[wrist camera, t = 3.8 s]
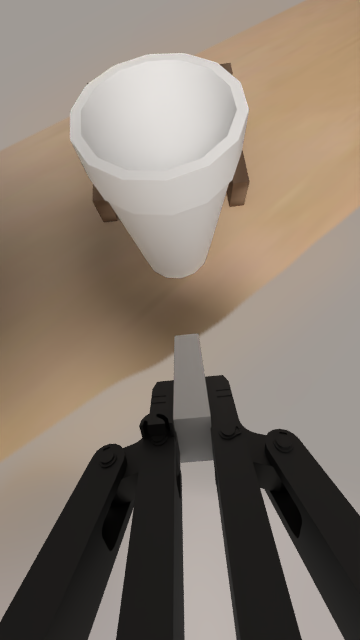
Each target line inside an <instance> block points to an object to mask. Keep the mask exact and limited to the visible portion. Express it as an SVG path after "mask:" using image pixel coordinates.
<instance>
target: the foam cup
mask: <svg viewBox="0 0 360 640" xmlns="http://www.w3.org/2000/svg"><path fill="white" fill-rule="evenodd" d="M248 113H249V108H248V105H247V101H246V98H245V95H244V92H243V89H242V85H241V82H240V81H238V80H237V79H236V78H235V77H234V76H232V75H231V74H230V73H229V72H228V71H226V70H225V69H224V68H223V67H222V66H221V65H219V64H218V63H216V62H213V61H210V60H206V59H203V58H199V57H196V56H193V55H189V54H185V53H174V54H148V55H145V56H141V57H138V58H135V59H132V60H129V61H126V62H123V63H120V64H117V65H114V66H112V67H111V68H110V69H108V70H107V71H105V72H104V73H103V74H101V75H100V76H98V77H97V78H96V79H94V80H93V81H91V82H90V83H89V84H87V85H86V86H85V88H84V90H83V91H82V93H81V94H80V96H79V98H78V99H77V101H76V103H75V104H74V106H73V107H72V109H71V111H70V140H71V143H72V145H73V147H74V149H75V151H76V153H77V155H78V157H79V159H80V161H81V163H82V165H83V167H84V169H85V171H86V173H87V175H88V177H89V179H90V180H91V181H92V183H93V184H94V186H95V187H96V189H97V190H98V191H99V193H100V194H101V196H102V197H103V198H104V200H105V201H108V202H109V204H110V205H111V207H112V208H113V210H114V211H115V213H116V214H117V216H118V217H119V219H120V220H121V222H122V224H123V225H124V227H125V228H126V230H127V231H128V233H129V234H130V236H131V237H132V239H133V240H134V242H135V243H136V245H137V247H138V248H139V250H140V251H141V253H142V254H143V256H144V257H145V259H146V260H147V262H148V263H149V264H150V266H151V267H152V269H153V270H154V271H155V272H157V273H159V274H161V275H162V276H164V277H166V278H183V277H186V276H189V275H191V274H194V273H195V272H196V271H197V270H198V269H199V268H200V267H201V266H202V265H203V264H204V263H205V260H206V257H207V254H208V251H209V248H210V245H211V242H212V238H213V235H214V232H215V228H216V225H217V222H218V218H219V215H220V212H221V208H222V205H223V202H224V198H225V195H226V192H227V188H228V185H229V183H230V182H231V181H232V180H233V177H234V174H235V171H236V168H237V165H238V162H239V159H240V156H241V153H242V147H243V142H244V136H245V130H246V124H247V119H248Z"/></svg>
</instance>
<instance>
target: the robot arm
mask: <svg viewBox="0 0 360 640" xmlns="http://www.w3.org/2000/svg"><path fill="white" fill-rule="evenodd" d="M139 427H140V430H141V434H142V439H141V440H139V441H138V442H137V443H135V444H133V445H130V446H127V447H125V448H122V447H121V446H120V445H117V444H108V445H105V446H103V447H102V448H100V449H99V450H98V451H97V452H96V453H95V454H94V456H93V457H92V459H91V461H90V462H89V464H88V466H87V468H86V470H85V471H84V473H83V475H82V477H81V478H80V480H79V482H78V484H77V486H76V488H75V489H74V491H73V493H72V495H71V496H70V498H69V500H68V502H67V504H66V505H65V507H64V509H63V511H62V513H61V514H60V516H59V518H58V520H57V522H56V523H55V525H54V527H53V529H52V531H51V532H50V534H49V536H48V538H47V539H46V541H45V543H44V545H43V547H42V548H41V550H40V552H39V554H38V555H37V558H36V559H35V561H34V563H33V564H32V566H31V568H30V570H29V572H28V573H27V575H26V577H25V579H24V580H23V582H22V584H21V586H20V588H19V589H18V591H17V593H16V595H15V597H14V599H13V600H12V602H11V604H10V606H9V607H8V609H7V611H6V613H5V614H4V616H3V618H2V620H1V622H0V640H88V637H89V634H90V631H91V629H92V625H93V622H94V620H95V617H96V614H97V611H98V608H99V605H100V603H101V599H102V597H103V594H104V591H105V588H106V585H107V582H108V579H109V577H110V574H111V571H112V568H113V565H114V562H115V559H116V556H117V554H118V551H119V548H120V545H121V542H122V539H123V536H124V533H125V530H126V528H127V524H128V522H129V519H130V516H131V513H132V510H133V507H134V510H133V518H132V525H131V532H130V540H129V548H128V555H127V562H126V570H125V577H124V585H123V592H122V600H121V607H120V614H119V623H118V629H117V637H116V640H184V590H183V587H184V586H183V532H182V531H183V530H182V479H181V470H180V462H181V463H183V462H195V461H208V460H214V467H215V480H216V485H217V492H218V500H219V508H220V515H221V523H222V530H223V537H224V546H225V554H226V561H227V568H228V576H229V584H230V591H231V599H232V607H233V615H234V622H235V630H236V638H237V640H302V639H301V636H300V632H299V628H298V625H297V621H296V617H295V614H294V610H293V606H292V603H291V599H290V595H289V592H288V588H287V585H286V581H285V577H284V574H283V570H282V567H281V563H280V559H279V556H278V552H277V548H276V545H275V541H274V537H273V534H272V530H271V526H270V523H269V519H268V516H267V512H266V508H265V505H264V501H263V497H262V494H261V491H260V488H263V489H265V491H266V493H267V495H268V497H269V499H270V500H271V502H272V504H273V506H274V508H275V510H276V511H277V513H278V515H279V517H280V519H281V521H282V523H283V525H284V527H285V528H286V530H287V532H288V534H289V536H290V538H291V540H292V542H293V544H294V545H295V547H296V549H297V551H298V553H299V555H300V557H301V558H302V560H303V562H304V564H305V566H306V568H307V570H308V571H309V573H310V575H311V577H312V579H313V581H314V583H315V585H316V587H317V588H318V590H319V592H320V594H321V596H322V598H323V600H324V602H325V603H326V605H327V607H328V609H329V611H330V613H331V615H332V617H333V618H334V620H335V622H336V624H337V626H338V628H339V630H340V632H341V633H342V635H343V637H344V639H345V640H360V516H359V514H358V513H357V512H356V511H355V509H354V508H353V507H352V506H351V504H350V503H349V502H348V501H347V499H346V498H345V497H344V495H343V494H342V493H341V492H340V490H339V489H338V488H337V486H336V485H335V484H334V483H333V481H332V480H331V479H330V478H329V477H328V475H327V474H326V473H325V471H324V470H323V469H322V467H321V466H320V465H319V464H318V462H317V461H316V460H315V459H314V457H313V456H312V455H311V454H310V452H309V451H308V450H307V449H306V447H305V446H304V445H303V443H302V442H301V441H300V440H299V439H298V437H296V436H295V435H294V434H293V433H291V432H289V431H287V430H282V429H275V430H272V431H270V432H269V433H268V434H267V435H262V434H257V433H254V432H251V431H249V430H247V429H246V428H244V427H243V426H242V424H241V423H240V421H239V419H238V415H237V411H236V408H235V404H234V400H233V397H232V393H231V389H230V385H229V381H228V380H227V379H226V378H225V377H224V376H223V375H219V376H208V377H205V375H204V368H203V361H202V355H201V348H200V341H199V334H198V333H197V334H187V335H177V336H175V345H174V380H172V381H162V382H157V383H156V385H155V386H154V388H153V391H152V399H151V407H150V414H148V415H147V416H145V417H144V418H143V419H142V420H141V423H140V426H139Z"/></svg>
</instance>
